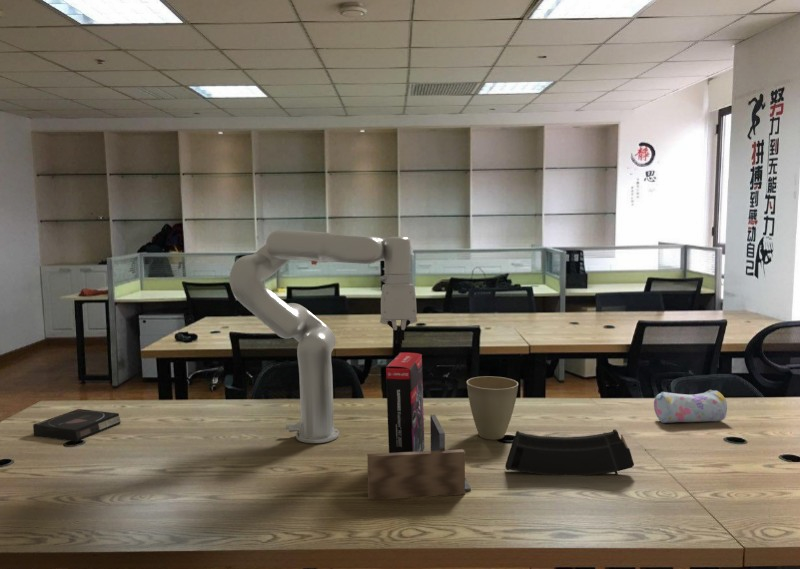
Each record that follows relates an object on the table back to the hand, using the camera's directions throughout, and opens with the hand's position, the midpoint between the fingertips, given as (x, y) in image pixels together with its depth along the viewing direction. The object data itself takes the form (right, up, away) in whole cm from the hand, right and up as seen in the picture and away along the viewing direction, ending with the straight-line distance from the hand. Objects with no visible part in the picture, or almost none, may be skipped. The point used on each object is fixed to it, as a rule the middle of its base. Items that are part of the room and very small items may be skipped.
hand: (399, 342), depth 173 cm
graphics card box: (+2, -30, -16) cm, 34 cm away
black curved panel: (+42, -30, -25) cm, 57 cm away
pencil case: (+91, -26, +13) cm, 95 cm away
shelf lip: (+4, -31, -37) cm, 48 cm away
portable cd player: (-99, -29, +12) cm, 104 cm away
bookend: (+12, -30, -28) cm, 43 cm away
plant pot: (+27, -28, +2) cm, 39 cm away
